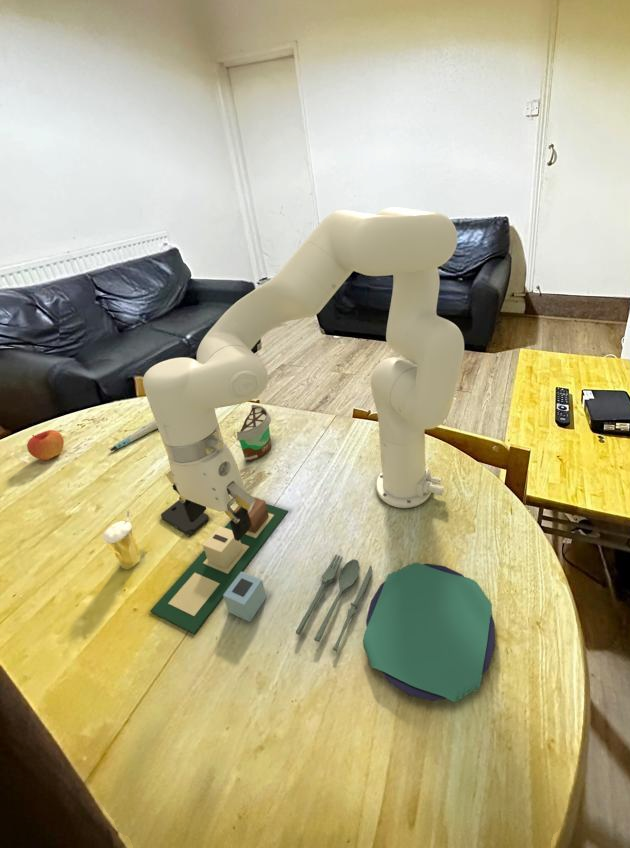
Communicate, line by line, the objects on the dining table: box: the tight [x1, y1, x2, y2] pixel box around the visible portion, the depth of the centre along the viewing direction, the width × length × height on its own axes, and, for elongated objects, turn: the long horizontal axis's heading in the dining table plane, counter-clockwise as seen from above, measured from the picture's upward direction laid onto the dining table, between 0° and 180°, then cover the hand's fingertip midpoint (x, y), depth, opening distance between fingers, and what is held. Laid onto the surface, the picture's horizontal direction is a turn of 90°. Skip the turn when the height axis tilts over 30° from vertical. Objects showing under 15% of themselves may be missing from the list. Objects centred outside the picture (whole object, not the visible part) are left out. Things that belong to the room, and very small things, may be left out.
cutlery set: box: [295, 554, 496, 703], centre depth 66 cm, size 20×30×2 cm, turn 69°
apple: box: [26, 429, 65, 461], centre depth 108 cm, size 7×7×8 cm
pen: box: [109, 419, 158, 452], centre depth 115 cm, size 19×3×3 cm, turn 145°
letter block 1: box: [202, 525, 243, 569], centre depth 78 cm, size 4×4×5 cm
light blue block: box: [223, 571, 268, 623], centre depth 69 cm, size 4×4×5 cm
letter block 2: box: [233, 496, 269, 533], centre depth 84 cm, size 4×4×5 cm
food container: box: [236, 404, 272, 463], centre depth 105 cm, size 12×6×10 cm, turn 179°
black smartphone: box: [160, 499, 210, 537], centre depth 88 cm, size 5×1×10 cm
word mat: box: [149, 503, 289, 635], centre depth 79 cm, size 10×26×1 cm, turn 157°
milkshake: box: [102, 510, 142, 570], centre depth 77 cm, size 5×5×10 cm
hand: (220, 524), depth 67 cm, fingers open, 9 cm apart
